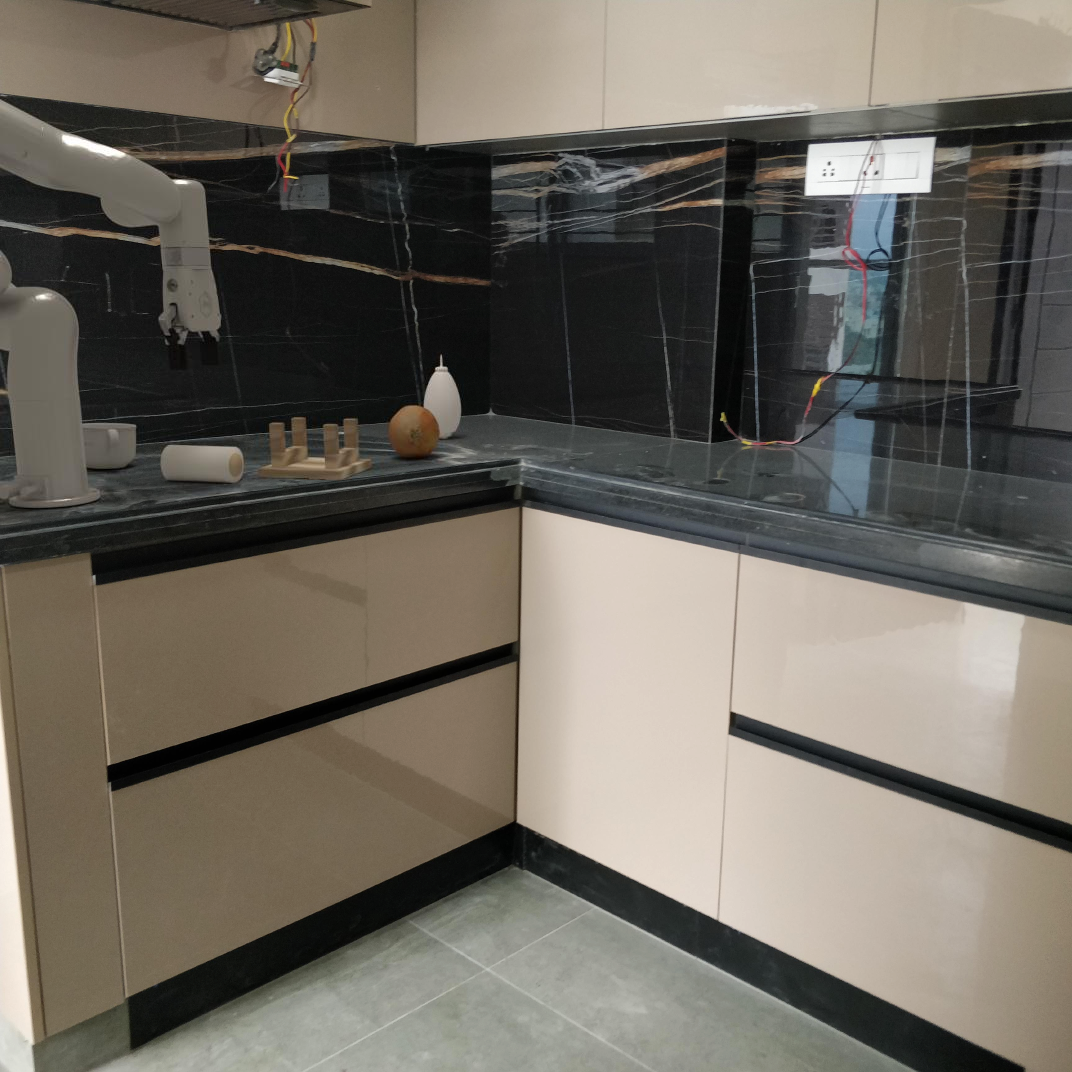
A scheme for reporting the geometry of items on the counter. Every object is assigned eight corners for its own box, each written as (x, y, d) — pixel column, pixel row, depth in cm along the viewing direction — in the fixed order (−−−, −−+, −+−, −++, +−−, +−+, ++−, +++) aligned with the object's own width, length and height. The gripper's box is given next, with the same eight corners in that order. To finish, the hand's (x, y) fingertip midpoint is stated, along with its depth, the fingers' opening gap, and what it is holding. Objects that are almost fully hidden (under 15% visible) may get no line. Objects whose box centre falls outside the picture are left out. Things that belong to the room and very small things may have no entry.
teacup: (76, 465, 197) (72, 421, 195) (138, 461, 201) (135, 419, 199) (74, 476, 185) (70, 430, 183) (141, 472, 188) (137, 427, 187)
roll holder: (339, 480, 179) (337, 426, 177) (258, 477, 183) (255, 424, 181) (371, 467, 192) (369, 417, 191) (295, 464, 196) (292, 415, 194)
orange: (396, 463, 198) (394, 409, 196) (383, 456, 207) (381, 404, 205) (446, 460, 201) (445, 407, 199) (431, 453, 210) (430, 402, 208)
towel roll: (228, 485, 175) (225, 449, 174) (161, 483, 178) (158, 447, 177) (246, 479, 181) (243, 444, 180) (180, 477, 184) (178, 442, 183)
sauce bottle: (417, 438, 232) (415, 354, 228) (443, 435, 238) (441, 353, 234) (442, 441, 227) (440, 356, 223) (468, 437, 233) (466, 354, 229)
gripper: (178, 258, 163) (187, 371, 167) (234, 260, 179) (241, 363, 183) (134, 259, 165) (145, 371, 169) (193, 261, 181) (202, 363, 185)
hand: (195, 367), depth 176 cm, fingers open, 9 cm apart
